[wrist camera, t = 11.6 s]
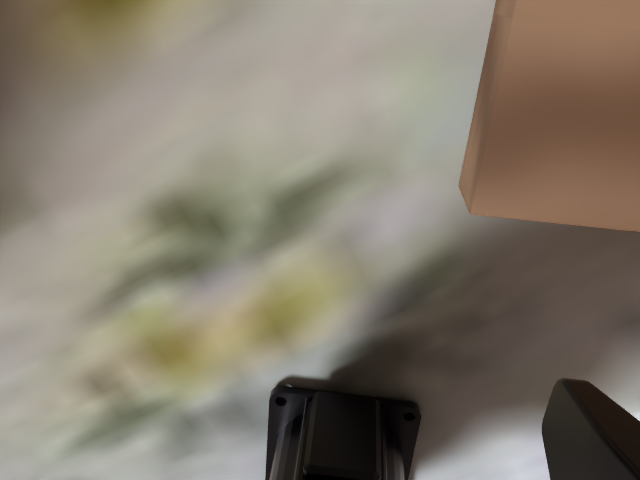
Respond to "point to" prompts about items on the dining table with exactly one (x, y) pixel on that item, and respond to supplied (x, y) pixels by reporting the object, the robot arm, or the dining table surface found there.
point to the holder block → (558, 115)
